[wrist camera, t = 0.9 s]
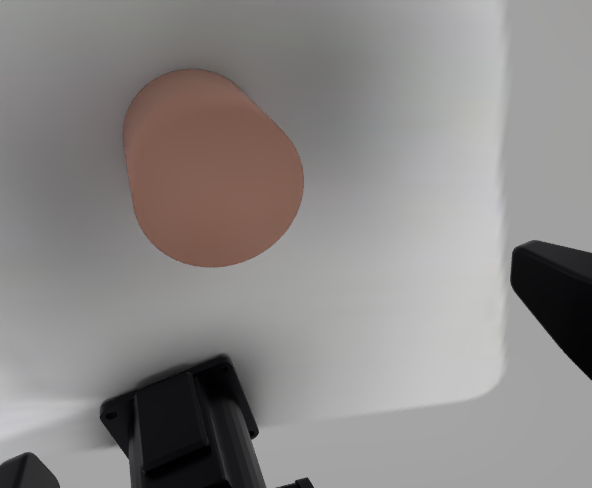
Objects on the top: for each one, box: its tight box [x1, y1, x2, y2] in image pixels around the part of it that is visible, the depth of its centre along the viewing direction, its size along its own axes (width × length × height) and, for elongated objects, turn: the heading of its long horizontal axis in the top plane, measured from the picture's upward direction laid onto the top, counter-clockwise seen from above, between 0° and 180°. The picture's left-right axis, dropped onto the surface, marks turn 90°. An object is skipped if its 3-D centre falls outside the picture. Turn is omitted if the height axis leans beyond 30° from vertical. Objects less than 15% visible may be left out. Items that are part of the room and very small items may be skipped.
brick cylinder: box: [123, 69, 304, 267], centre depth 16 cm, size 5×5×5 cm
